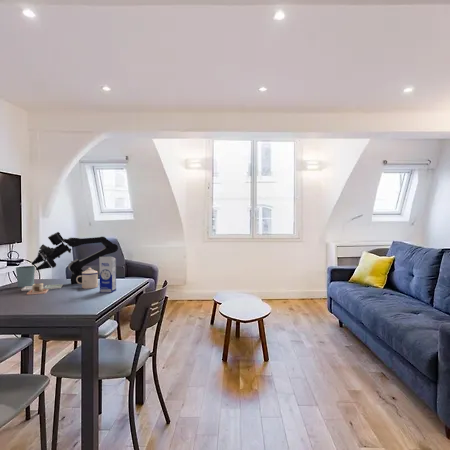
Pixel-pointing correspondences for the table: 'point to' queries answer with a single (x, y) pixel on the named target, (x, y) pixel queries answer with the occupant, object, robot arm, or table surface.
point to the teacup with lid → (89, 279)
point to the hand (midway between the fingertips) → (33, 266)
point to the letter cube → (37, 287)
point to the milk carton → (107, 274)
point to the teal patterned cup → (25, 275)
